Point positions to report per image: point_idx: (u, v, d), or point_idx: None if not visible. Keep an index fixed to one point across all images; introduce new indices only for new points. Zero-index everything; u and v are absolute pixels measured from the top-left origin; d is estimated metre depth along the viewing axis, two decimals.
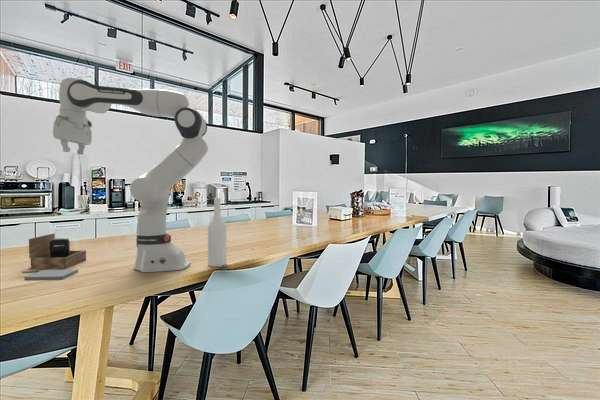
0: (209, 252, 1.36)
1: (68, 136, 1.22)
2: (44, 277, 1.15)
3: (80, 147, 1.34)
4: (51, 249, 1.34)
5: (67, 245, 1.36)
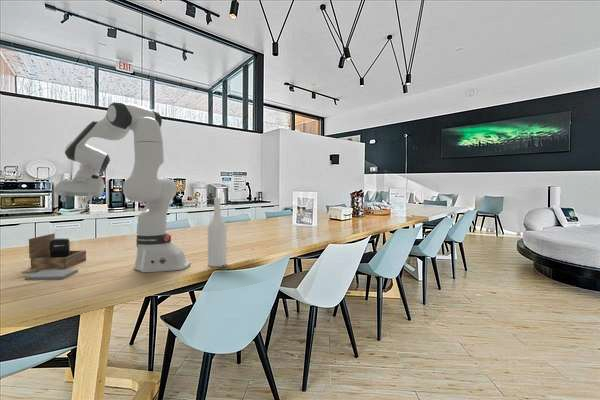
0: (209, 252, 1.36)
1: (62, 188, 1.48)
2: (44, 277, 1.15)
3: None
4: (51, 249, 1.34)
5: (67, 245, 1.36)
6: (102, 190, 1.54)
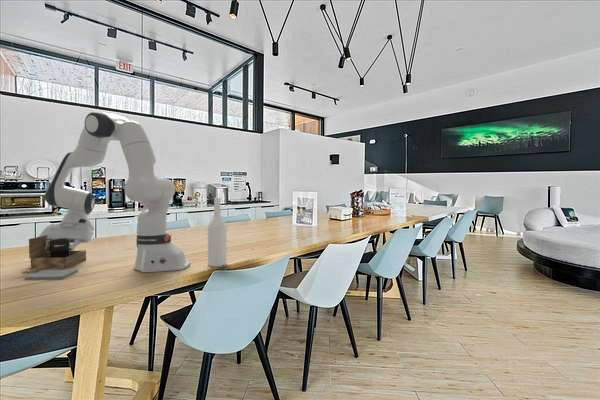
0: (209, 252, 1.36)
1: (47, 236, 1.38)
2: (44, 277, 1.15)
3: None
4: (51, 249, 1.34)
5: (67, 245, 1.36)
6: (90, 235, 1.43)
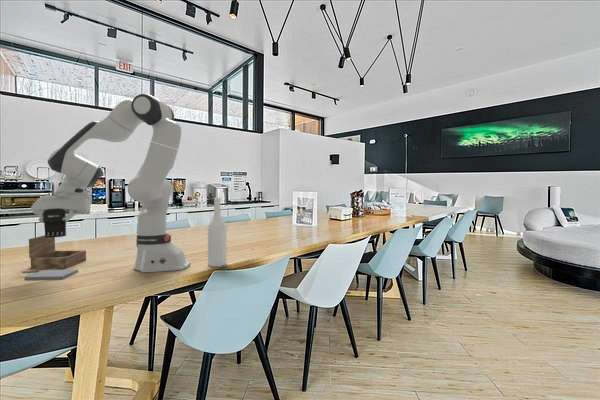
0: (209, 252, 1.36)
1: (40, 206, 1.24)
2: (44, 277, 1.15)
3: None
4: (45, 220, 1.20)
5: (63, 216, 1.23)
6: (88, 206, 1.29)
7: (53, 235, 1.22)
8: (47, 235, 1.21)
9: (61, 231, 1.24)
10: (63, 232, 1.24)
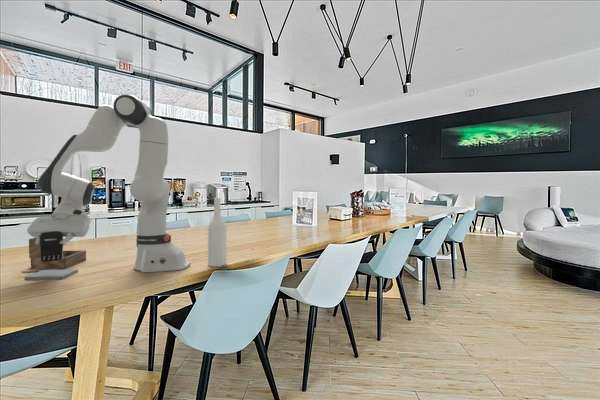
0: (209, 252, 1.36)
1: (36, 228, 1.21)
2: (44, 277, 1.15)
3: None
4: (41, 243, 1.16)
5: (60, 239, 1.19)
6: (86, 228, 1.25)
7: (49, 259, 1.19)
8: (43, 259, 1.18)
9: (58, 255, 1.21)
10: (60, 256, 1.21)
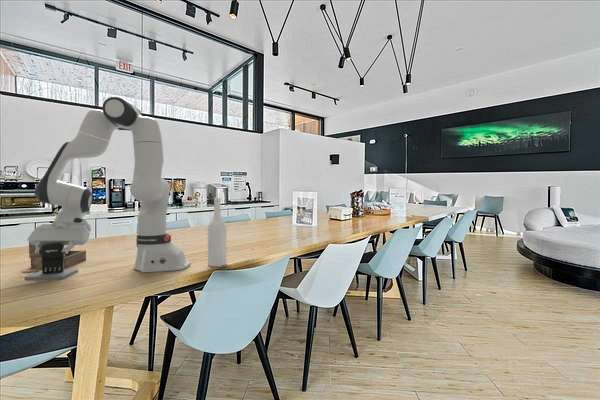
0: (209, 252, 1.36)
1: (37, 237, 1.21)
2: (44, 277, 1.15)
3: None
4: (43, 255, 1.17)
5: (61, 250, 1.20)
6: (87, 236, 1.26)
7: (50, 271, 1.19)
8: (44, 271, 1.18)
9: (59, 266, 1.21)
10: (61, 267, 1.21)
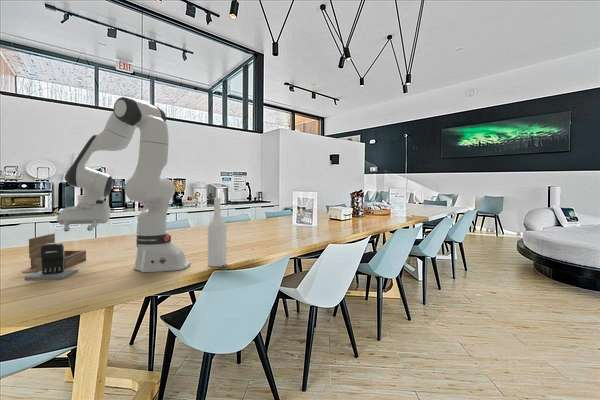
0: (209, 252, 1.36)
1: (65, 217, 1.37)
2: (44, 277, 1.15)
3: None
4: (42, 256, 1.17)
5: (61, 251, 1.19)
6: (108, 216, 1.42)
7: (50, 271, 1.19)
8: (44, 271, 1.18)
9: (59, 267, 1.21)
10: (61, 268, 1.21)
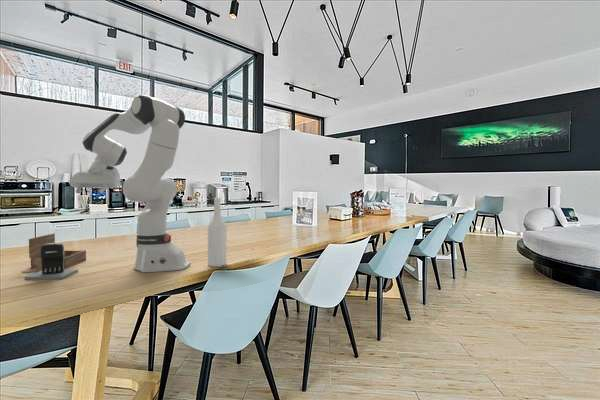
0: (209, 252, 1.36)
1: (77, 180, 1.45)
2: (44, 277, 1.15)
3: None
4: (42, 256, 1.17)
5: (61, 251, 1.19)
6: (117, 181, 1.49)
7: (50, 271, 1.19)
8: (44, 271, 1.18)
9: (59, 267, 1.21)
10: (61, 268, 1.21)
